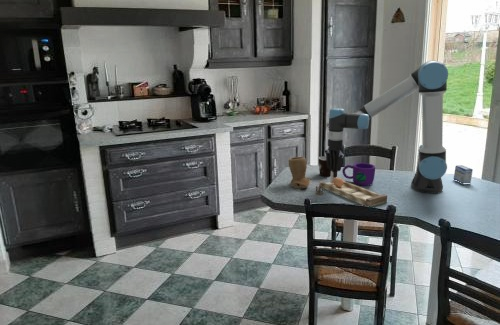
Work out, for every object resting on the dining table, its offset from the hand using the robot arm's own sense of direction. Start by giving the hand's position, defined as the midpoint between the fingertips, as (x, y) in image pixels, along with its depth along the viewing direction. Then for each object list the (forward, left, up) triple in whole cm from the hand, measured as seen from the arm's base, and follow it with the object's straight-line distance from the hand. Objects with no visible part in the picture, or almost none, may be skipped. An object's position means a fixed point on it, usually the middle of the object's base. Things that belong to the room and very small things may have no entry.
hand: (333, 182), depth 206 cm
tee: (-4, +13, -2) cm, 14 cm away
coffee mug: (+18, -11, -2) cm, 21 cm away
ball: (-4, 0, +1) cm, 4 cm away
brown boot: (+12, +14, -2) cm, 18 cm away
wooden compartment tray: (-13, 0, -2) cm, 13 cm away
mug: (-2, -16, -2) cm, 16 cm away
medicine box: (-32, -64, -2) cm, 72 cm away
